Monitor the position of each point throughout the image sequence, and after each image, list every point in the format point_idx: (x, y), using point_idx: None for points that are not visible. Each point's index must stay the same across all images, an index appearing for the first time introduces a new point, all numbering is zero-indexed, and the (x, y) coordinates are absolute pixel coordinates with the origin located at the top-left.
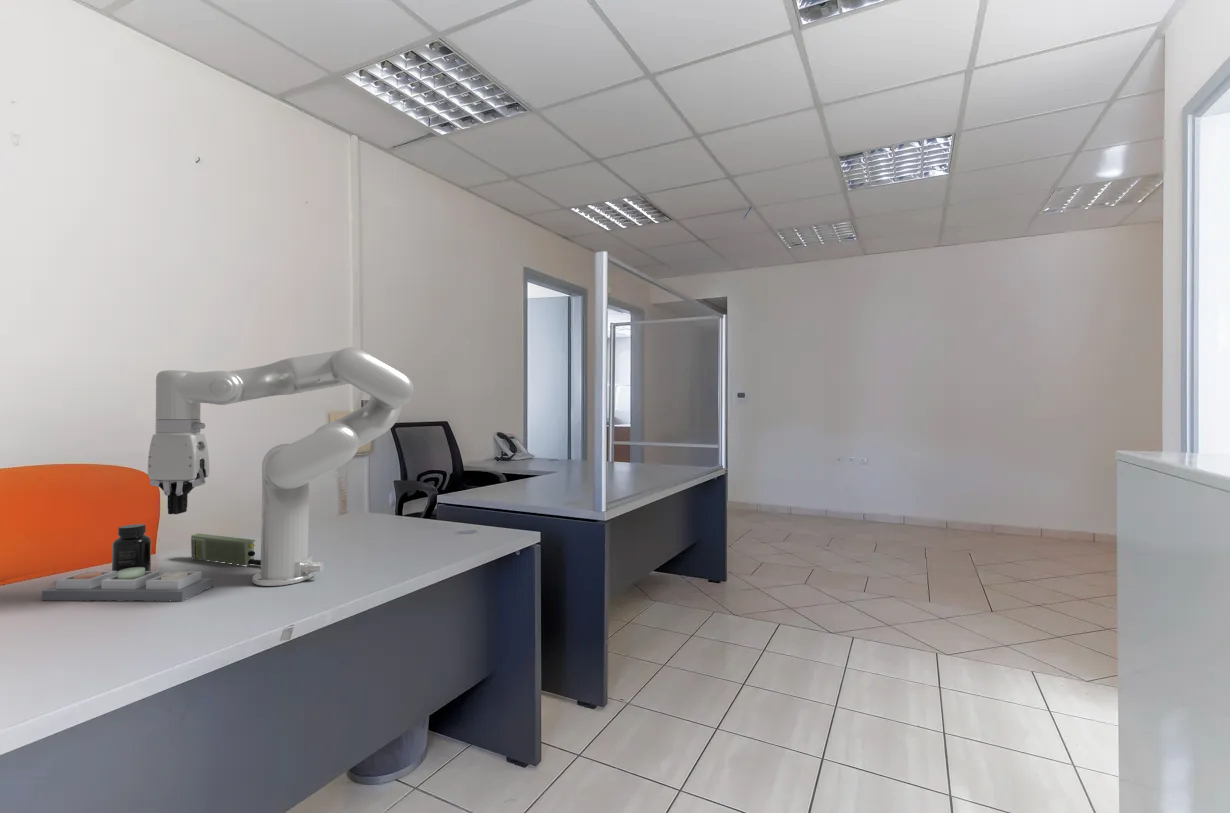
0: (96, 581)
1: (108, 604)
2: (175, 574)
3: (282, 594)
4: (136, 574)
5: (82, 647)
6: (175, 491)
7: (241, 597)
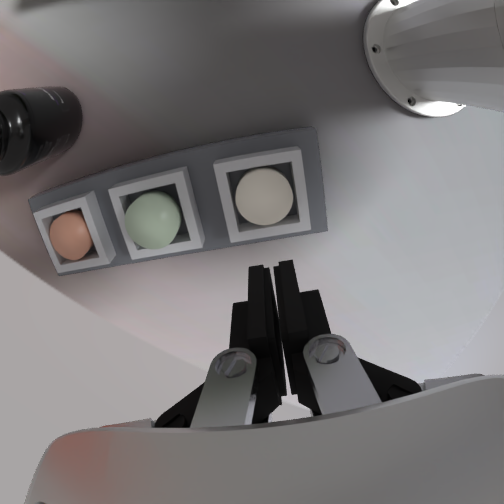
0: (106, 244)
1: (191, 261)
2: (261, 193)
3: (475, 159)
4: (178, 228)
5: None
6: (273, 395)
7: (419, 183)
